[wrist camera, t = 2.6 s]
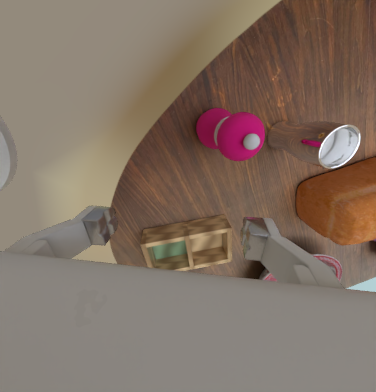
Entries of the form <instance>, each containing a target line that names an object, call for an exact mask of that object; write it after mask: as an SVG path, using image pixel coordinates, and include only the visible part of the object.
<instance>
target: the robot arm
mask: <svg viewBox="0 0 376 392" xmlns="http://www.w3.org/2000/svg"><path fill="white" fill-rule="evenodd" d="M115 213H116V212H115V209H114V208H113V207H103V206H88V207H87V208H86V209H85V210H83V211H82V212H81V213H80V214H79V215H77V216H76V217H75V218H74V219H72V220H68V221H65V222H63V223H60V224H57V225H55V226H52V227H49V228H47V229H44V230H41V231H39V232H36V233H33V234H31V235H28V236H26V237H23V238H22V239H20V240H19V241H18V242H16V243H15V244H13V245H12V246H10V247H9V248H8V249H6V250H5V251H3V252H2V251H0V392H376V292H369V291H360V290H351V289H345V288H344V287H343V286H342V284H341V283H340V281H339V280H338V279H337V277H336V276H335V274H334V273H333V271H332V270H331V269H330V267H328V266H327V265H325V264H324V263H322V262H321V261H319V260H318V259H316V258H315V257H313V256H312V255H310V254H309V253H307V252H306V251H304V250H303V249H301V248H300V247H299V246H297V245H296V244H294V243H293V242H291V241H290V240H288V239H287V238H285V237H282V236H281V234H280V232H279V231H278V229H277V227H276V225H275V223H274V221H273V219H272V218H254V217H244V219H243V226H244V227H243V228H242V229H241V244H242V245H243V253H244V258H245V259H248V260H256V261H260V262H261V263H262V264H263V265H264V266H265V267H266V269H267V270H268V271H269V272H270V273H271V274H272V275H273V276H274V278H275V279H276V280H277V281H278V282H277V281H268V280H259V279H249V278H240V277H231V276H222V275H213V274H204V273H195V272H185V271H176V270H167V269H158V268H149V267H140V266H131V265H122V264H112V263H103V262H93V261H84V260H74V259H71V258H73V257H74V256H76V255H78V254H79V253H81V252H82V251H83V250H85V249H87V248H88V247H90V246H91V245H106V243H107V242H108V241H109V239H110V238H111V237H110V235H111V234H113V233H115V231H116V230H117V227H118V220H117V218H116V217H115V216H114V215H115Z"/></svg>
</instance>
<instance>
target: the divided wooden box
mask: <svg viewBox="0 0 376 392" xmlns="http://www.w3.org/2000/svg"><path fill="white" fill-rule="evenodd" d="M140 245H141V248H142V251H143V254H144V257H145V260H146V262H147V265H148V267H149V268H158V269H167V270H176V271H186V270H191V269H194V268H195V269H196V268H201V267H206V266H211V265H216V264H221V263H226V262H231V261H232V227H231V226H230V224H229V222H228V220H227V219H226V217H225V215H219V216H213V217H208V218H203V219H197V220H192V221H186V222H181V223H175V224H170V225H164V226H159V227H154V228H148V229H143V233H142V239H141V244H140Z"/></svg>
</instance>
